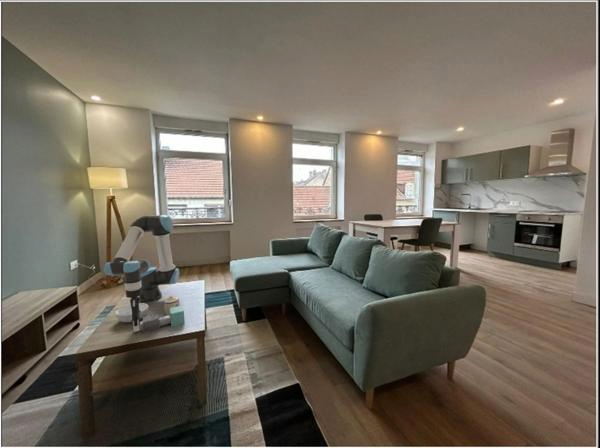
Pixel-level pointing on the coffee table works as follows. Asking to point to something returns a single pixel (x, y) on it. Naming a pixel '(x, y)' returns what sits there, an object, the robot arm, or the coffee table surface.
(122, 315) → the cereal bowl
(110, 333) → the coffee table surface
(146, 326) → the sleeve
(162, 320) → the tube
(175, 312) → the socket
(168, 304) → the teacup with lid
